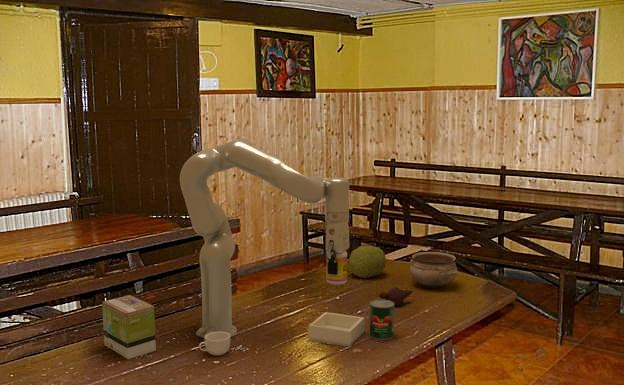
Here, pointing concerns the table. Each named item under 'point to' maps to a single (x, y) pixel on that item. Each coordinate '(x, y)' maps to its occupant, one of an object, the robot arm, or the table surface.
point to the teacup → (216, 343)
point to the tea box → (129, 326)
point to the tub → (336, 329)
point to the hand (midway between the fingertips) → (336, 270)
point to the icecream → (395, 295)
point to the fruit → (367, 261)
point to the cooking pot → (433, 269)
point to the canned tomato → (381, 319)
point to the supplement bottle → (342, 270)
